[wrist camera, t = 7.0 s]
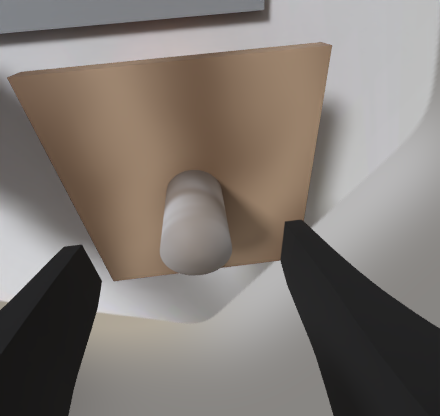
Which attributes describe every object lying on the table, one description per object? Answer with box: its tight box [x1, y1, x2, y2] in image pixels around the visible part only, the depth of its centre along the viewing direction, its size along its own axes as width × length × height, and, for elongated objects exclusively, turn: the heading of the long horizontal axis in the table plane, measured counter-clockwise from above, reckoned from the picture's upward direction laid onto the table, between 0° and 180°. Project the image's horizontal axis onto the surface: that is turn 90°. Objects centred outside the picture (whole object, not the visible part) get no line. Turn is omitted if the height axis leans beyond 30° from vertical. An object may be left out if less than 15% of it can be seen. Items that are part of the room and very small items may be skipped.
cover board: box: [7, 42, 332, 281], centre depth 12 cm, size 12×12×5 cm
